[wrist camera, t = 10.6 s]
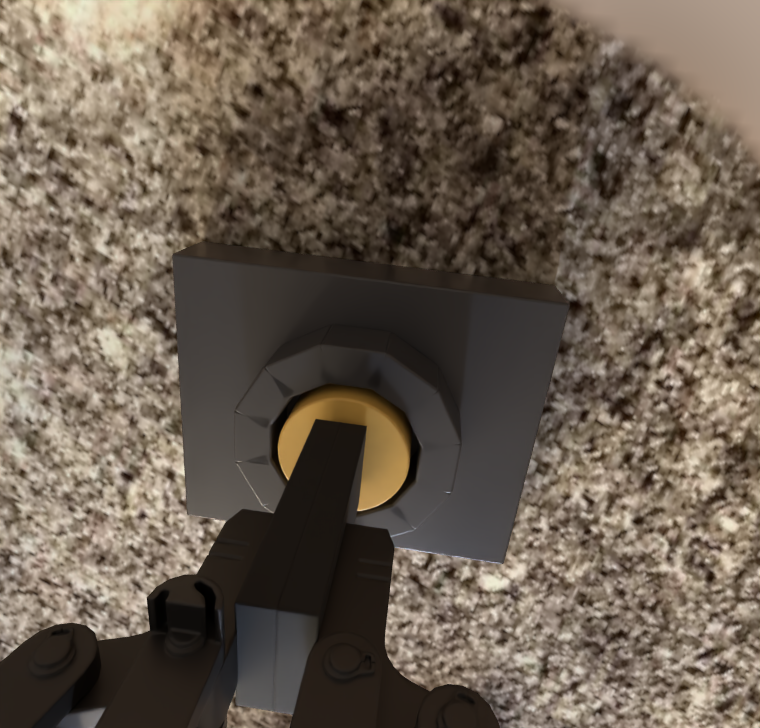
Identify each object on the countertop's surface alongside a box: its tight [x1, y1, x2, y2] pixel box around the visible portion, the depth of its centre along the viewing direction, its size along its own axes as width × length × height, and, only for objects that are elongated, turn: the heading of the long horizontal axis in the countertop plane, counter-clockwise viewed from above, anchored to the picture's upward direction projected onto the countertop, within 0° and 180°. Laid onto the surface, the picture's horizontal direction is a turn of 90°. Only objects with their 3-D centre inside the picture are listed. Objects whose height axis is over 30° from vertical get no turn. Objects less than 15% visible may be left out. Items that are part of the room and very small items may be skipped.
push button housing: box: [172, 242, 569, 564], centre depth 18 cm, size 12×10×4 cm
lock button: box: [278, 383, 412, 511], centre depth 16 cm, size 4×4×2 cm
